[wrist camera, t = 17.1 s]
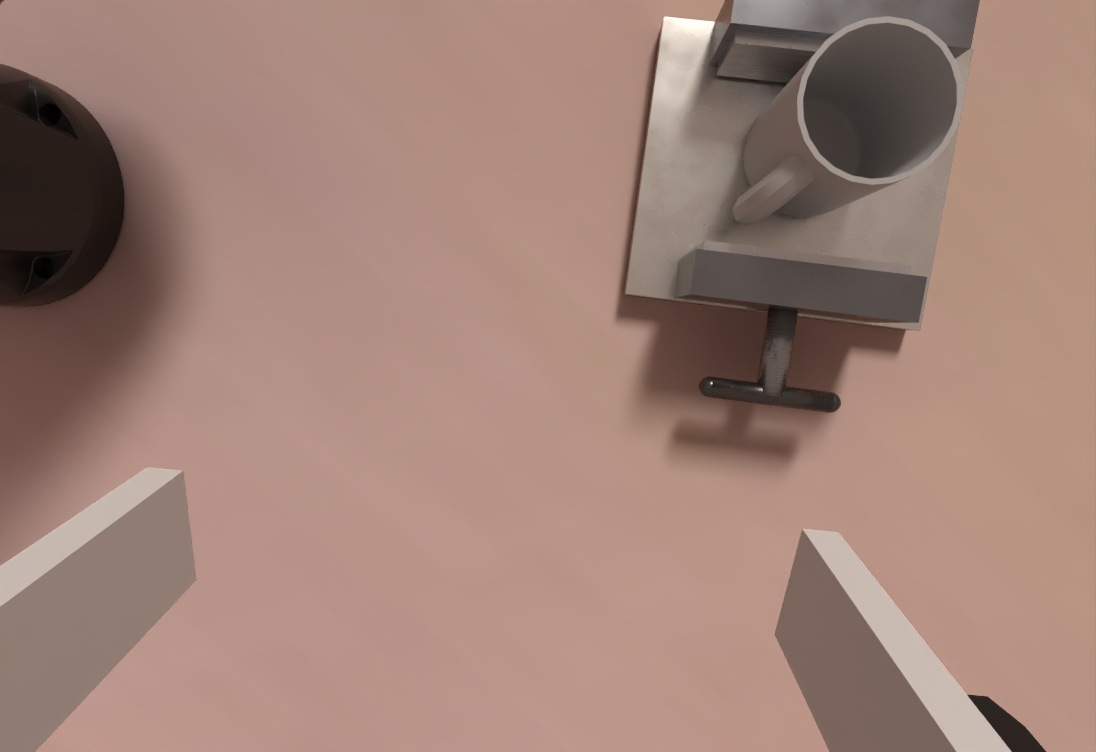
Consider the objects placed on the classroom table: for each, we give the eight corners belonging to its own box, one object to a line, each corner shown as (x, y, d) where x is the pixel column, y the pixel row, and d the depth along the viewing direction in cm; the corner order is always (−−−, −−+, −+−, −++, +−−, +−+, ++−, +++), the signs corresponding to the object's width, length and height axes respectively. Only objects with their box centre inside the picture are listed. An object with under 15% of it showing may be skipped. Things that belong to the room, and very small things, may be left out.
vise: (611, 378, 38) (619, 390, 31) (660, 29, 36) (678, -36, 29) (890, 415, 37) (956, 434, 31) (956, 61, 35) (1042, 2, 29)
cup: (889, 161, 34) (997, 106, 26) (758, 275, 35) (818, 260, 27) (810, 68, 34) (892, -20, 25) (680, 186, 35) (715, 140, 26)
